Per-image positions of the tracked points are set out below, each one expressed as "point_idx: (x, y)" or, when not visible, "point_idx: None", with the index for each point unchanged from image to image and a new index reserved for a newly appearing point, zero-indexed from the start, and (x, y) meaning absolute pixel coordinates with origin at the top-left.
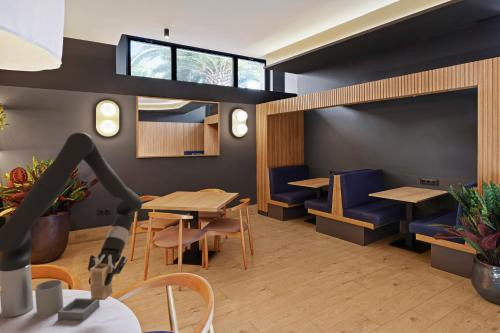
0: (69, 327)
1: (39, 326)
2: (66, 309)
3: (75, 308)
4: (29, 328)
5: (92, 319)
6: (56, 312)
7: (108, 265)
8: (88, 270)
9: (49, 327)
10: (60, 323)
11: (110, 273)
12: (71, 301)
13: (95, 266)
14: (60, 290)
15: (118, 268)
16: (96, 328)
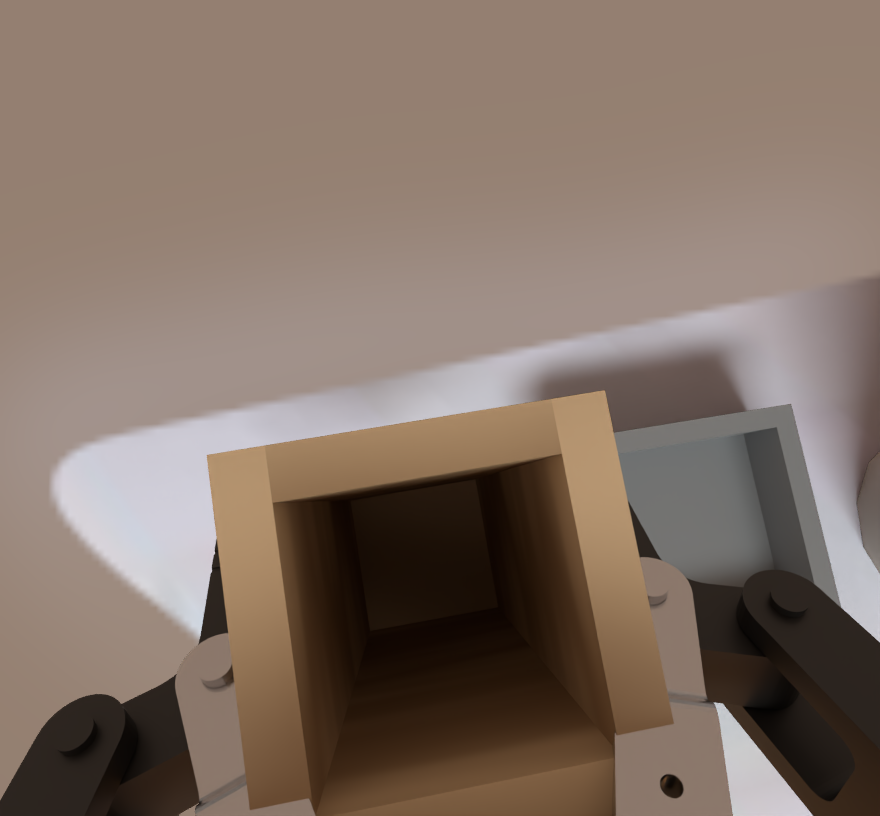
0: (572, 352)
1: (806, 314)
2: (776, 490)
3: (751, 575)
4: (851, 280)
5: None
6: (862, 496)
7: (269, 753)
8: (771, 571)
9: (721, 320)
10: (688, 380)
11: (226, 649)
12: (835, 587)
13: (596, 576)
14: None
15: (4, 797)
16: (350, 386)
